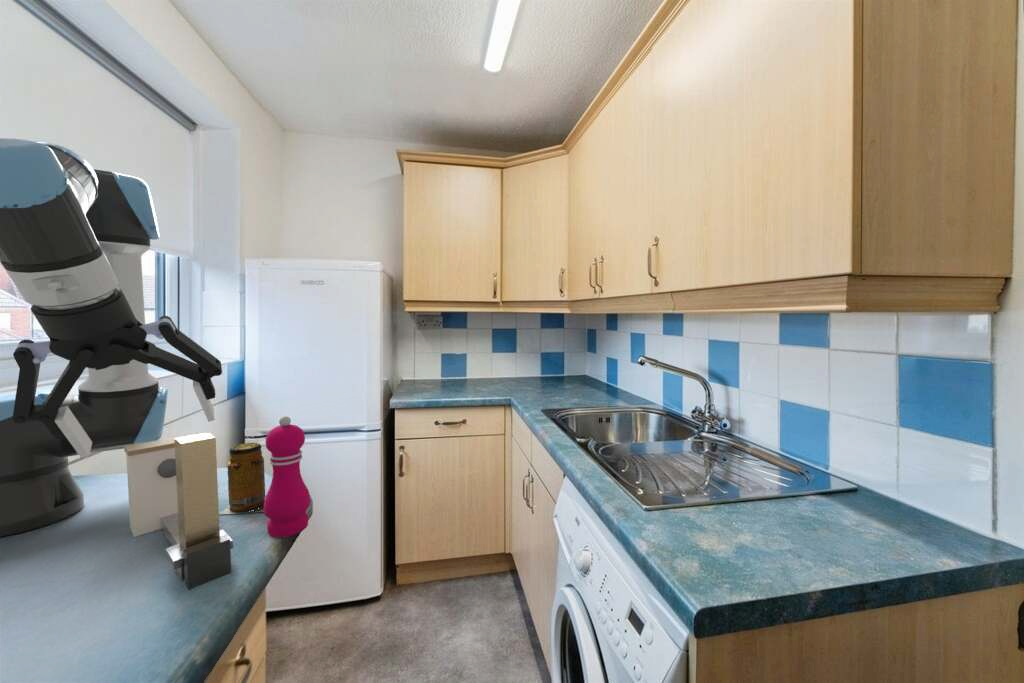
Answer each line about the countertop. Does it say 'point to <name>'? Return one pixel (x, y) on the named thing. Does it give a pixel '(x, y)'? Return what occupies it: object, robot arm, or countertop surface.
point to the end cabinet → (151, 484)
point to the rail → (200, 555)
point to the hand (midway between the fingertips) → (152, 431)
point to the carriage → (195, 495)
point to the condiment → (246, 479)
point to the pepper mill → (286, 481)
